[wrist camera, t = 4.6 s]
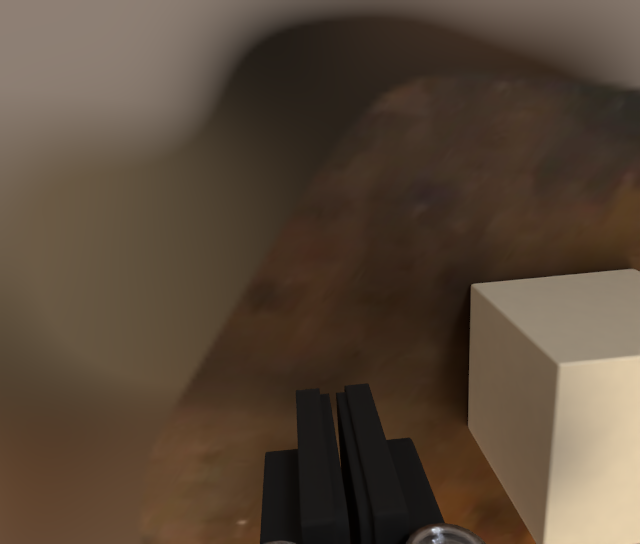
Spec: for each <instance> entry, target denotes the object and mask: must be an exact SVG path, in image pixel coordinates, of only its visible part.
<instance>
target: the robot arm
mask: <svg viewBox="0 0 640 544" xmlns="http://www.w3.org/2000/svg"><path fill="white" fill-rule="evenodd" d="M336 401H337V416H338V431H339V445H340V460H341V466H340V460H339V454H338V447H337V441H336V435H335V429H334V422H333V416H332V410H331V403H330V397H329V394H320V391H319V388H316V389H305V390H296V408H297V433H298V449H293V450H283V451H273V452H266V454H265V466H264V483H263V500H262V517H261V534H260V544H486V543H485V542H484V541H483V540H482V539H481V538H480V537H479V536H477V535H476V534H474V533H473V532H471V531H470V530H468V529H465V528H463V527H460V526H458V525H453V524H446V523H445V522H444V520H443V517H442V515H441V512H440V510H439V507H438V505H437V502H436V500H435V497H434V495H433V492H432V489H431V487H430V484H429V482H428V479H427V477H426V474H425V472H424V469H423V467H422V464H421V461H420V459H419V456H418V454H417V451H416V449H415V446H414V444H413V442H412V440H411V439H410V438H402V439H392V440H386V438H385V435H384V432H383V429H382V426H381V422H380V419H379V416H378V413H377V410H376V406H375V403H374V400H373V397H372V394H371V390H370V387H369V384H357V385H347V386H345V392H340V393H336Z"/></svg>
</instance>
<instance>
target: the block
mask: <svg viewBox="0 0 640 544" xmlns="http://www.w3.org/2000/svg"><path fill="white" fill-rule="evenodd" d="M468 428H469V430H470V432H471V433H472V435H473V437H474V438H475V440H476V442H477V443H478V445H479V447H480V449H481V450H482V452H483V454H484V455H485V457H486V459H487V460H488V462H489V464H490V466H491V467H492V469H493V471H494V472H495V474H496V476H497V477H498V479H499V481H500V482H501V484H502V486H503V488H504V489H505V491H506V493H507V494H508V496H509V498H510V499H511V501H512V503H513V505H514V506H515V508H516V510H517V511H518V513H519V515H520V516H521V518H522V520H523V521H524V523H525V525H526V527H527V528H528V530H529V532H530V533H531V535H532V537H533V538H534V540H535V542H536V544H639V543H640V272H639V271H637V270H635V269H625V270H615V271H604V272H593V273H583V274H572V275H562V276H551V277H541V278H530V279H520V280H509V281H499V282H488V283H478V284H472V285H471V308H470V355H469V401H468Z"/></svg>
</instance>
